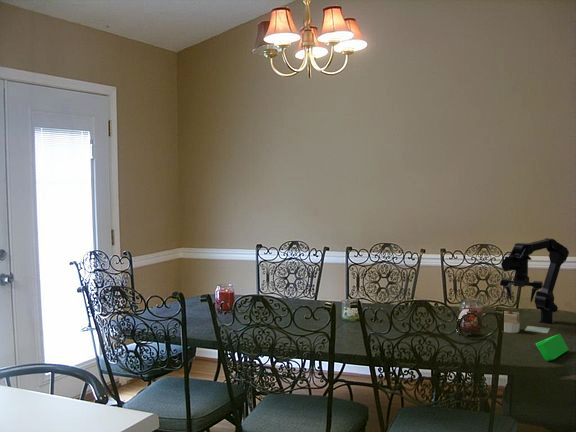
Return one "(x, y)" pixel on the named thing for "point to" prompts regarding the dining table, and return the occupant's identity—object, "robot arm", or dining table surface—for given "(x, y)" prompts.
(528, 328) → the mat
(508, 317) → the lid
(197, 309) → the dining table surface
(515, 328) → the bowl
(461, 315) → the figurine
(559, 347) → the green rectangular block
